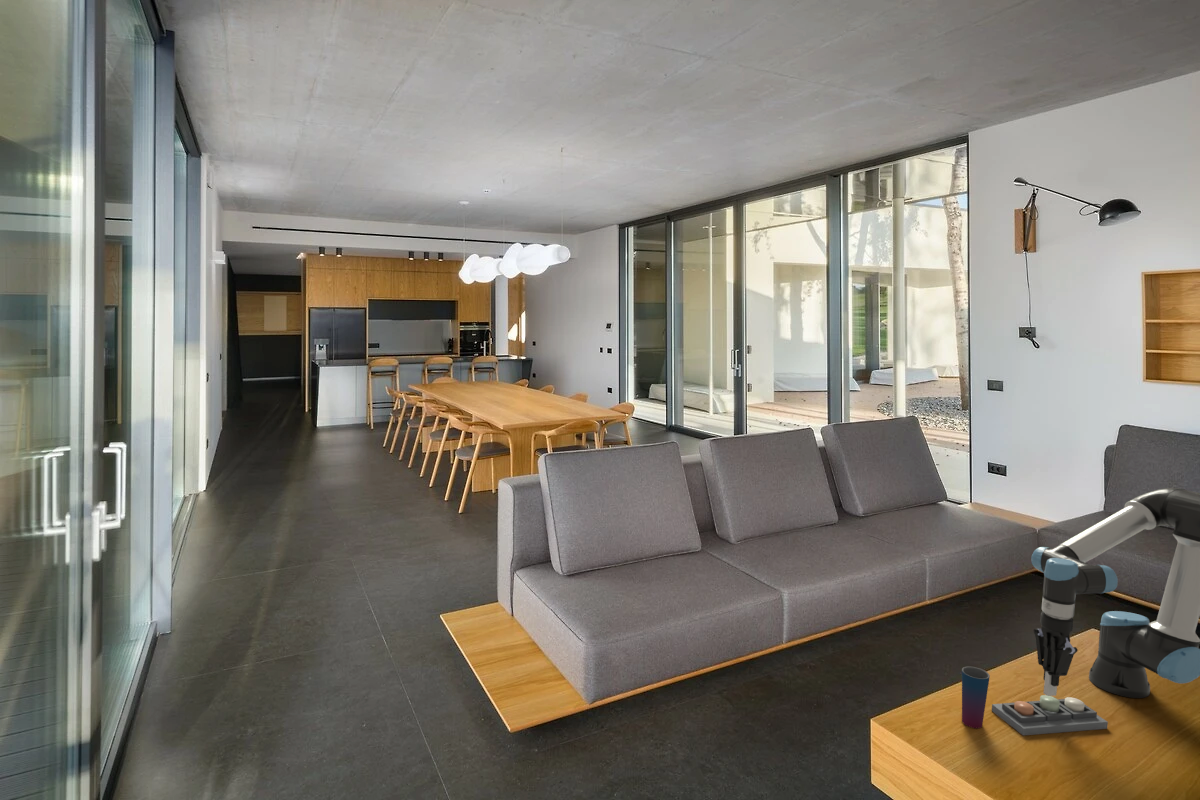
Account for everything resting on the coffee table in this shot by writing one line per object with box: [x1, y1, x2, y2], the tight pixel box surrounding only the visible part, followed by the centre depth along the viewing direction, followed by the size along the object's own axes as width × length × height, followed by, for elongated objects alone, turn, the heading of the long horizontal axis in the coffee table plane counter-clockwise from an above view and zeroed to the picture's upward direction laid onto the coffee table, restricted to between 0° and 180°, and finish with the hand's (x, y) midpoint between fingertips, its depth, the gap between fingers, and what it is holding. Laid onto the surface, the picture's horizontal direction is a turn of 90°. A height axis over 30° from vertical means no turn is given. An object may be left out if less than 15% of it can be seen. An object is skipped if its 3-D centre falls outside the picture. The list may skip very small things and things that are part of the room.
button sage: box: [1039, 694, 1060, 712], centre depth 190 cm, size 5×5×2 cm
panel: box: [991, 698, 1109, 736], centre depth 191 cm, size 26×12×4 cm, turn 98°
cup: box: [961, 666, 991, 729], centre depth 188 cm, size 7×7×15 cm
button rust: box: [1014, 700, 1034, 716], centre depth 189 cm, size 5×5×2 cm
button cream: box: [1064, 696, 1086, 712], centre depth 192 cm, size 5×5×2 cm
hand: (1049, 694), depth 190 cm, fingers closed
